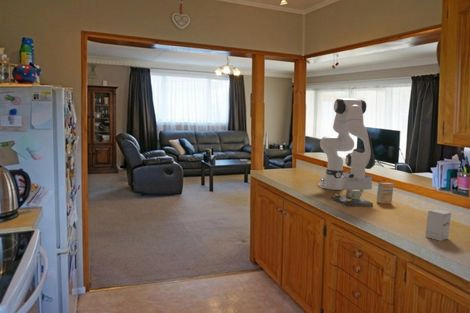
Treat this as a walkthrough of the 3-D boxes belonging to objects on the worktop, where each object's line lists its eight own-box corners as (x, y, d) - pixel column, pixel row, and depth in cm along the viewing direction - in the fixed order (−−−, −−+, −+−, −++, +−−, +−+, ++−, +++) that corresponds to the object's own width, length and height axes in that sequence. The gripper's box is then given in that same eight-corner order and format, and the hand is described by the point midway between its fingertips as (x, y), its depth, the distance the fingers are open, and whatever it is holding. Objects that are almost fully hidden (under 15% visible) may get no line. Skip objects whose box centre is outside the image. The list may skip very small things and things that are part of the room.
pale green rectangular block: (350, 198, 250) (351, 190, 249) (356, 198, 250) (357, 190, 250) (354, 199, 246) (354, 191, 245) (359, 199, 247) (360, 191, 246)
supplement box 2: (440, 241, 175) (443, 214, 174) (424, 236, 181) (427, 210, 180) (448, 239, 179) (451, 212, 178) (432, 234, 185) (435, 208, 184)
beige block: (346, 196, 256) (346, 188, 255) (351, 196, 257) (352, 188, 256) (349, 197, 252) (349, 189, 251) (354, 197, 253) (355, 189, 252)
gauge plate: (331, 198, 255) (331, 192, 254) (356, 198, 259) (356, 192, 258) (345, 206, 235) (346, 199, 235) (372, 206, 239) (373, 199, 239)
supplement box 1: (380, 204, 246) (382, 183, 245) (376, 202, 251) (378, 182, 250) (392, 203, 249) (393, 183, 247) (387, 202, 253) (389, 182, 252)
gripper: (369, 174, 252) (367, 195, 253) (340, 173, 247) (338, 195, 249) (375, 175, 246) (373, 197, 247) (345, 175, 241) (343, 197, 243)
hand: (355, 196), depth 248 cm, fingers closed on pale green rectangular block, 4 cm apart
